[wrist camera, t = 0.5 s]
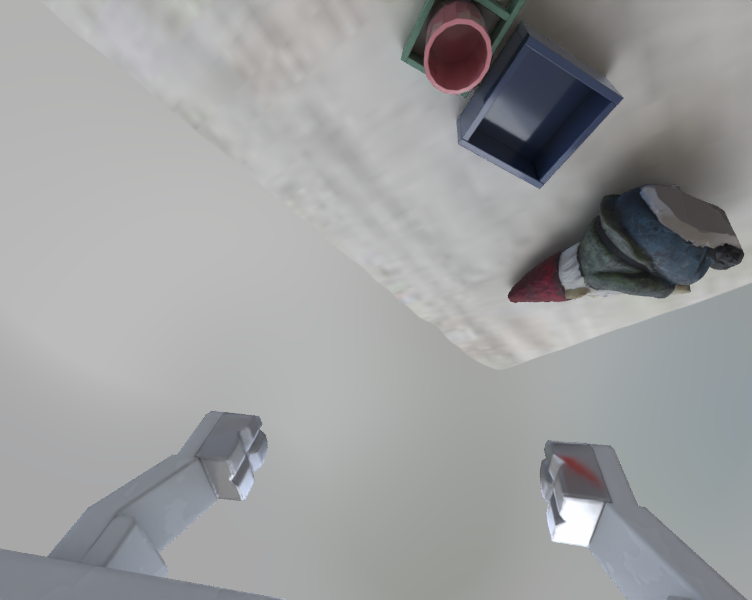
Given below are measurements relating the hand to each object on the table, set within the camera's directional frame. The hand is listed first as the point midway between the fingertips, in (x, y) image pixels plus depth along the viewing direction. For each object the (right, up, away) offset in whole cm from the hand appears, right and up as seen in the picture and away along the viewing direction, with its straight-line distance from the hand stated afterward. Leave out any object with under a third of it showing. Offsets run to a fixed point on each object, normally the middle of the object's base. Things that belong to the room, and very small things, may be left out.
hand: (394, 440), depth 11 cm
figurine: (+36, +13, +50) cm, 63 cm away
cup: (+8, +34, +32) cm, 47 cm away
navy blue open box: (+18, +28, +36) cm, 49 cm away
